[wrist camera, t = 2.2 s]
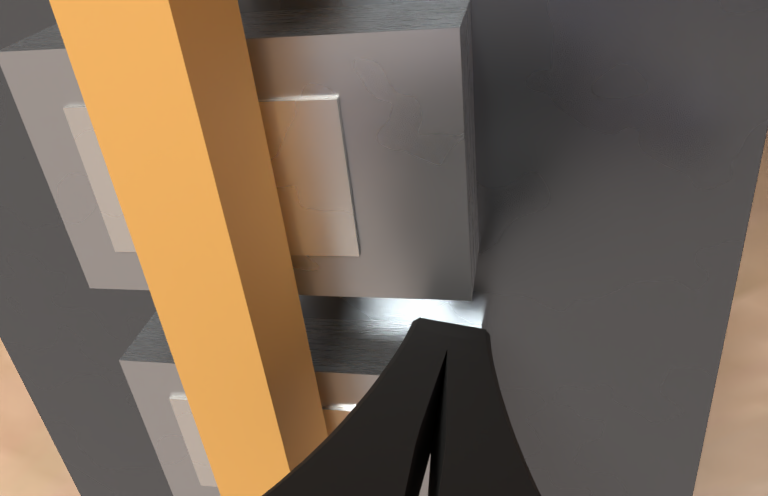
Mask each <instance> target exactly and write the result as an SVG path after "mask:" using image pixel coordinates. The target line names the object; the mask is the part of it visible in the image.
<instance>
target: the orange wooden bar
mask: <svg viewBox="0 0 768 496" xmlns="http://www.w3.org/2000/svg"><path fill="white" fill-rule="evenodd" d="M49 1H50V4H51V7H52V10H53V13H54V16H55V19H56V22H57V25H58V27H59V30H60V33H61V36H62V39H63V42H64V45H65V48H66V51H67V53H68V56H69V59H70V62H71V65H72V68H73V71H74V74H75V77H76V79H77V82H78V85H79V88H80V91H81V94H82V97H83V100H84V103H85V105H86V108H87V111H88V114H89V117H90V120H91V123H92V126H93V128H94V131H95V134H96V137H97V140H98V143H99V146H100V149H101V152H102V154H103V157H104V160H105V163H106V166H107V169H108V172H109V175H110V178H111V180H112V183H113V186H114V189H115V192H116V195H117V198H118V201H119V204H120V206H121V209H122V212H123V215H124V218H125V221H126V224H127V227H128V229H129V232H130V235H131V238H132V241H133V244H134V247H135V250H136V253H137V255H138V258H139V261H140V264H141V267H142V270H143V273H144V276H145V279H146V281H147V284H148V287H149V290H150V293H151V296H152V299H153V302H154V305H155V307H156V310H157V313H158V316H159V319H160V322H161V325H162V328H163V330H164V333H165V336H166V339H167V342H168V345H169V348H170V351H171V354H172V356H173V359H174V362H175V365H176V368H177V371H178V374H179V377H180V380H181V382H182V385H183V388H184V391H185V394H186V397H187V400H188V403H189V406H190V408H191V411H192V414H193V417H194V420H195V423H196V426H197V429H198V431H199V434H200V437H201V440H202V443H203V446H204V449H205V452H206V455H207V457H208V460H209V463H210V466H211V469H212V472H213V475H214V478H215V481H216V483H217V486H218V489H219V492H220V495H221V496H262V495H263V494H264V493H266V492H267V491H268V490H269V489H271V488H272V487H273V486H274V485H276V484H277V483H278V482H279V481H280V480H282V479H283V478H284V477H285V476H286V475H287V474H288V473H289V472H291V471H292V470H293V469H294V468H295V467H296V466H297V465H299V464H300V463H301V462H302V461H303V460H304V459H305V458H306V457H307V456H309V455H310V454H311V453H312V452H313V451H314V450H315V449H316V448H317V447H318V446H319V445H320V444H321V443H322V442H323V441H324V440H325V439H326V438H327V437H328V435H327V430H326V425H325V420H324V415H323V410H322V406H321V401H320V396H319V391H318V386H317V381H316V377H315V372H314V367H313V362H312V357H311V352H310V348H309V343H308V338H307V333H306V328H305V323H304V319H303V314H302V309H301V304H300V299H299V295H298V290H297V285H296V280H295V275H294V270H293V266H292V261H291V256H290V251H289V246H288V241H287V237H286V232H285V227H284V222H283V217H282V212H281V208H280V203H279V198H278V193H277V188H276V183H275V179H274V174H273V169H272V164H271V159H270V155H269V150H268V145H267V140H266V135H265V130H264V126H263V121H262V116H261V111H260V106H259V101H258V97H257V92H256V87H255V82H254V77H253V72H252V68H251V63H250V58H249V53H248V48H247V43H246V39H245V34H244V29H243V24H242V19H241V14H240V10H239V5H238V0H49Z"/></svg>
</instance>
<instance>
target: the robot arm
mask: <svg viewBox="0 0 768 496" xmlns="http://www.w3.org/2000/svg"><path fill="white" fill-rule="evenodd" d="M430 454H431V457H430ZM429 457H430V471H429V485H428V496H541V494H540V492H539V490H538V488H537V486H536V484H535V481H534V479H533V477H532V475H531V473H530V470H529V468H528V466H527V463H526V461H525V459H524V456H523V454H522V451H521V449H520V446H519V444H518V441H517V439H516V436H515V433H514V430H513V428H512V425H511V422H510V419H509V416H508V413H507V410H506V407H505V403H504V400H503V397H502V394H501V390H500V387H499V383H498V379H497V375H496V371H495V366H494V361H493V356H492V349H491V340H490V334H489V333H488V332H487V330H486V329H482V328H476V327H471V326H465V325H459V324H453V323H448V322H442V321H436V320H431V319H425V318H417V319H416V320H414V321H412V323H411V326H410V328H409V330H408V332H407V334H406V336H405V338H404V340H403V341H402V343H401V345H400V346H399V348H398V350H397V351H396V353H395V354H394V356H393V357H392V359H391V360H390V362H389V363H388V365H387V366H386V367H385V369H384V370H383V372H382V373H381V374H380V376H379V377H378V378H377V380H376V381H375V382H374V384H373V385H372V386H371V388H370V389H369V390H368V392H367V393H366V394H365V395H364V397H363V398H362V399H361V400H360V401H359V402H358V403H357V405H356V406H355V407H354V408H353V409H352V410H351V412H350V413H349V414H348V415H347V416H346V417H345V419H344V420H343V421H342V422H341V423H340V424H339V425H338V426H337V427H336V429H335V430H334V431H333V432H332V433H331V434H330V435H329V436H328V437H327V438H326V439H325V440H324V441H323V442H322V443H321V444H320V445H319V446H318V447H317V448H316V449H315V450H314V451H313V452H312V453H311V454H310V455H309V456H307V457H306V458H305V459H304V460H303V461H302V462H301V463H300V464H299V465H297V466H296V467H295V468H294V469H293V470H292V471H291V472H289V473H288V474H287V475H286V476H285V477H284V478H283V479H282V480H280V481H279V482H278V483H277V484H276V485H274V486H273V487H272V488H271V489H269V490H268V491H267V492H266V493H264V494H263V495H262V496H419V494H420V490H421V487H422V483H423V479H424V476H425V472H426V468H427V465H428V461H429Z"/></svg>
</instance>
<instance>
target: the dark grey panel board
mask: <svg viewBox="0 0 768 496" xmlns="http://www.w3.org/2000/svg"><path fill="white" fill-rule="evenodd" d="M424 1H440V0H238V5H239V10H240V13H245V12H261V11H278V10H294V9H310V8H326V7H343V6H359V5H375V4H392V3H408V2H424ZM470 4H471V33H472V62H473V90H474V119H475V147H476V176H477V205H478V233H479V252H478V259H477V266H476V273H475V280H474V287H473V294H472V301H462V300H431V299H401V298H370V297H340V296H309V295H299V299H300V304H301V309H302V314H303V317H304V318H329V319H354V320H379V321H404V322H412V321H414V320H416V319H417V318H425V319H431V320H436V321H442V322H448V323H454V324H479V325H482V329H486V330H487V332H488V333H489V334H490V340H491V349H492V356H493V361H494V366H495V371H496V375H497V379H498V383H499V387H500V390H501V394H502V397H503V400H504V403H505V407H506V410H507V413H508V416H509V419H510V422H511V425H512V428H513V430H514V433H515V436H516V439H517V441H518V444H519V446H520V449H521V451H522V454H523V456H524V459H525V461H526V463H527V466H528V468H529V470H530V473H531V475H532V477H533V479H534V481H535V484H536V486H537V488H538V490H539V492H540V494H541V496H693V491H694V486H695V481H696V476H697V471H698V466H699V461H700V456H701V452H702V447H703V442H704V437H705V432H706V427H707V422H708V417H709V412H710V407H711V403H712V398H713V393H714V388H715V383H716V378H717V373H718V368H719V363H720V359H721V354H722V349H723V344H724V339H725V334H726V329H727V324H728V319H729V314H730V310H731V305H732V300H733V295H734V290H735V285H736V280H737V275H738V270H739V266H740V261H741V256H742V251H743V246H744V241H745V236H746V231H747V226H748V221H749V217H750V212H751V207H752V202H753V197H754V192H755V187H756V182H757V177H758V173H759V168H760V163H761V158H762V153H763V148H764V143H765V138H766V133H767V128H768V0H470ZM55 24H57V22H56V19H55V16H54V13H53V10H52V7H51V4H50V1H49V0H0V50H1V49H3V48H5V47H7V46H10V45H12V44H14V43H16V42H18V41H20V40H23V39H25V38H27V37H29V36H31V35H33V34H36V33H38V32H40V31H42V30H44V29H46V28H49V27H51V26H53V25H55ZM155 312H157V310H156V307H155V305H154V302H153V299H152V296H151V293H150V290H126V289H95V288H90V287H89V285H88V282H87V280H86V277H85V275H84V272H83V270H82V267H81V265H80V262H79V260H78V257H77V255H76V252H75V250H74V247H73V245H72V242H71V240H70V237H69V235H68V232H67V230H66V228H65V225H64V223H63V220H62V218H61V215H60V213H59V210H58V208H57V205H56V203H55V200H54V198H53V195H52V193H51V190H50V188H49V185H48V183H47V180H46V178H45V175H44V173H43V170H42V168H41V165H40V163H39V160H38V158H37V155H36V153H35V150H34V148H33V145H32V143H31V140H30V138H29V135H28V133H27V130H26V128H25V126H24V123H23V121H22V118H21V116H20V113H19V111H18V108H17V106H16V103H15V101H14V98H13V96H12V93H11V91H10V88H9V86H8V83H7V81H6V78H5V76H4V73H3V71H2V68H1V66H0V338H1V340H2V342H3V344H4V346H5V348H6V350H7V351H8V353H9V355H10V357H11V359H12V361H13V363H14V365H15V367H16V369H17V371H18V373H19V375H20V377H21V379H22V381H23V383H24V385H25V387H26V389H27V391H28V393H29V395H30V397H31V399H32V401H33V402H34V404H35V406H36V408H37V410H38V412H39V414H40V416H41V418H42V420H43V422H44V424H45V426H46V428H47V430H48V432H49V434H50V436H51V438H52V440H53V442H54V444H55V446H56V448H57V450H58V452H59V453H60V455H61V457H62V459H63V461H64V463H65V465H66V467H67V469H68V471H69V473H70V475H71V477H72V479H73V481H74V483H75V485H76V487H77V489H78V491H79V493H80V495H81V496H173V494H172V491H171V489H170V486H169V484H168V481H167V479H166V476H165V474H164V471H163V469H162V466H161V464H160V461H159V459H158V456H157V454H156V451H155V449H154V446H153V444H152V441H151V439H150V436H149V434H148V432H147V429H146V427H145V424H144V422H143V419H142V417H141V414H140V412H139V409H138V407H137V404H136V402H135V399H134V397H133V394H132V392H131V389H130V387H129V384H128V382H127V379H126V377H125V374H124V372H123V369H122V367H121V364H120V362H119V360H120V358H121V357H122V356H123V354H124V353H125V352H126V350H127V349H128V348H129V346H130V345H131V344H132V342H133V341H134V340H135V338H136V337H137V336H138V334H139V333H140V332H141V330H142V329H143V328H144V327H145V325H146V324H147V323H148V321H149V320H150V319H151V317H152V316H153V315H154V313H155Z"/></svg>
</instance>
